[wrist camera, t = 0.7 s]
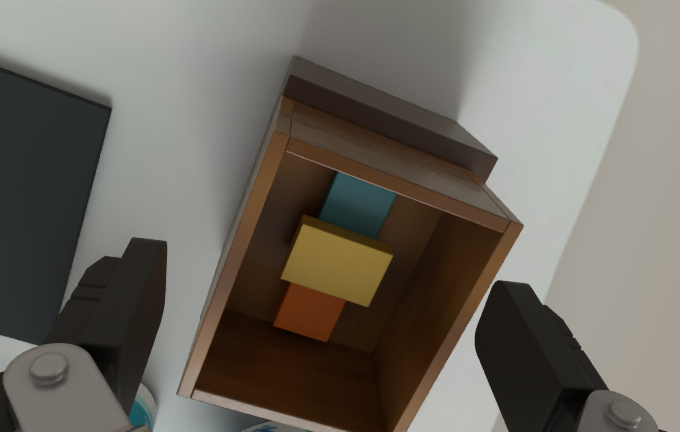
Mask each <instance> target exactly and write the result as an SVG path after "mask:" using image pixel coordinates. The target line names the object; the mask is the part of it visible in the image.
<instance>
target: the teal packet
mask: <svg viewBox="0 0 680 432" xmlns="http://www.w3.org/2000/svg"><path fill="white" fill-rule="evenodd" d="M396 195H397V193H394V192H391V191H389V190H386V189H383V188H381V187H378V186H375V185H373V184H370V183H367V182H365V181H362V180H359V179H357V178H354V177H351V176H349V175H346V174H343V173H341V172H338V171H335V170H334V172H333V174H332V177H331V179H330V181H329V184H328V186H327V188H326V191H325V193H324V196H323V198H322V200H321V203H320V205H319V207H318V210H317V212H316V215H315V217H314V218H316V219H319V220H322V221H324V222H327V223H330V224H333V225H336V226H339V227H341V228H344V229H347V230H350V231H353V232H356V233H358V234H361V235H364V236H367V237H370V238H372V239H375V240H376V237H377V235H378V233H379V231H380V229H381V227H382V225H383V223H384V220H385V218H386V216H387V214H388V212H389V210H390V208H391V206H392V204H393V201H394V199H395V197H396Z"/></svg>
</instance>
